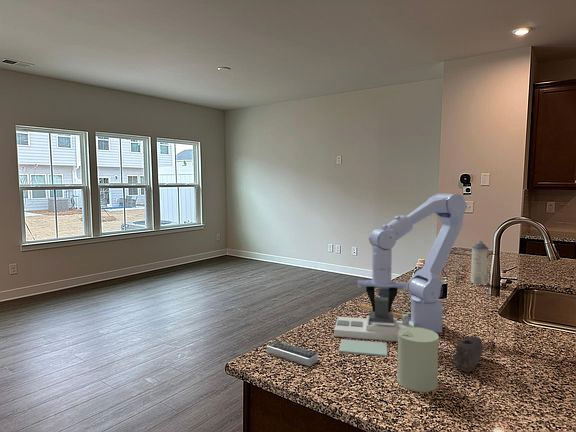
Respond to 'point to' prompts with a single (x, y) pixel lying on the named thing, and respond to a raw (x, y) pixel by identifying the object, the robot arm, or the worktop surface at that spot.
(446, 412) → the worktop surface
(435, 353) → the can
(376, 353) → the mat
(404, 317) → the hammer
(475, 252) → the aerosol can
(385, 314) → the plug
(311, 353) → the multiport hub
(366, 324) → the white panel
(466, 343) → the perforated stone tool
